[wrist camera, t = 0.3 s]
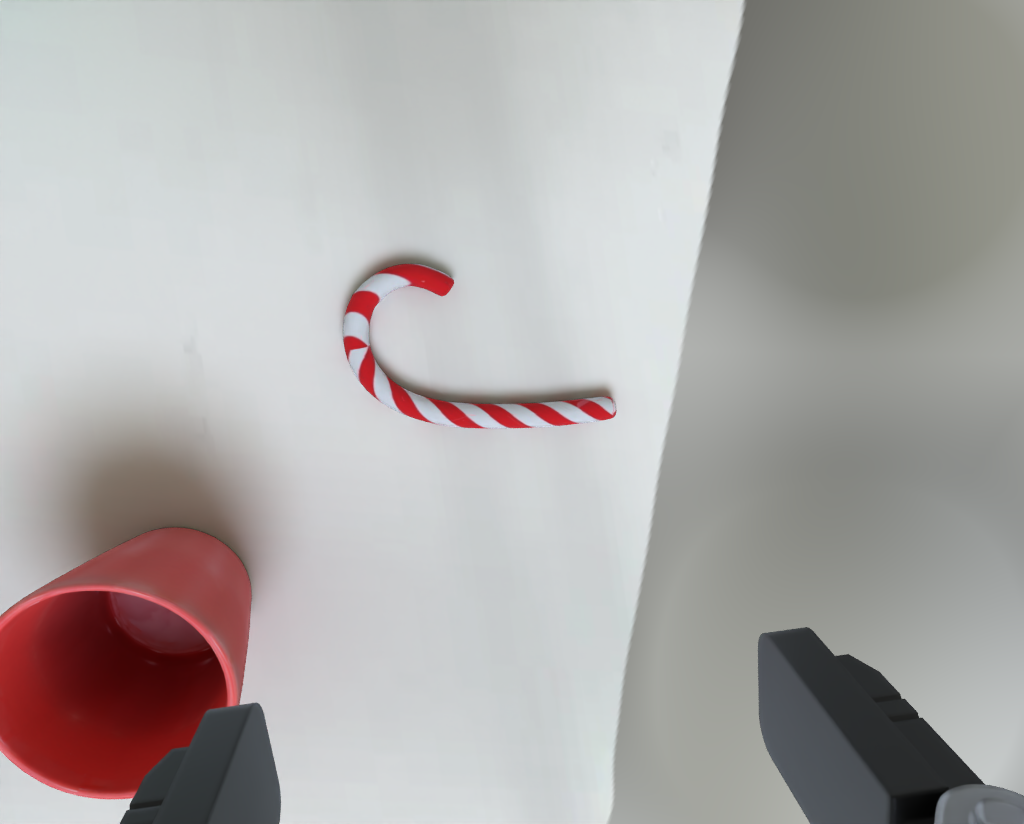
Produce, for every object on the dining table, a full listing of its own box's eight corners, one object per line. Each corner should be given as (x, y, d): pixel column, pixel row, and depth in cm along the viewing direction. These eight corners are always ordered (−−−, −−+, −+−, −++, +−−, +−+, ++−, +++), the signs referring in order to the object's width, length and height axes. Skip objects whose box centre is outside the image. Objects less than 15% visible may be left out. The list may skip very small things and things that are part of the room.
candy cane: (599, 470, 41) (323, 397, 38) (594, 462, 42) (326, 391, 40) (646, 332, 39) (360, 247, 37) (640, 328, 40) (363, 246, 38)
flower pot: (129, 462, 40) (32, 539, 30) (316, 557, 42) (279, 656, 32) (43, 620, 41) (-74, 738, 32) (226, 703, 44) (167, 837, 34)
